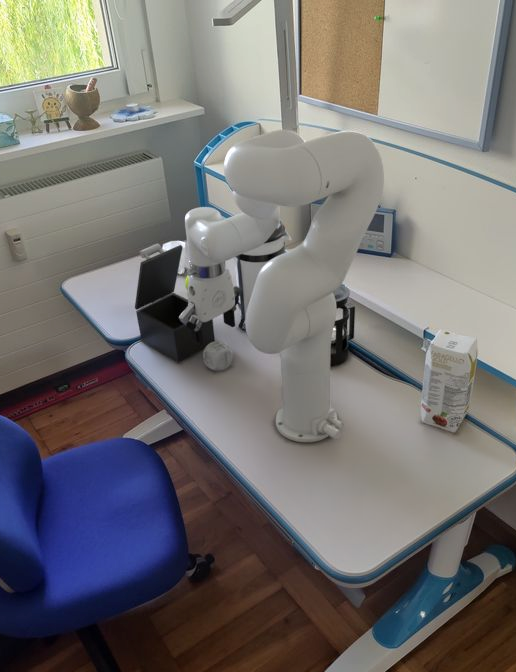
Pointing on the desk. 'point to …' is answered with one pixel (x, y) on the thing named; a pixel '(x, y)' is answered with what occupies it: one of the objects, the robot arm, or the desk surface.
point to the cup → (182, 260)
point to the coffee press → (256, 266)
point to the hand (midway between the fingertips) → (213, 333)
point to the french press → (342, 327)
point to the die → (217, 355)
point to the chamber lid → (157, 274)
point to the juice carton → (448, 379)
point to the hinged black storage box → (171, 328)
